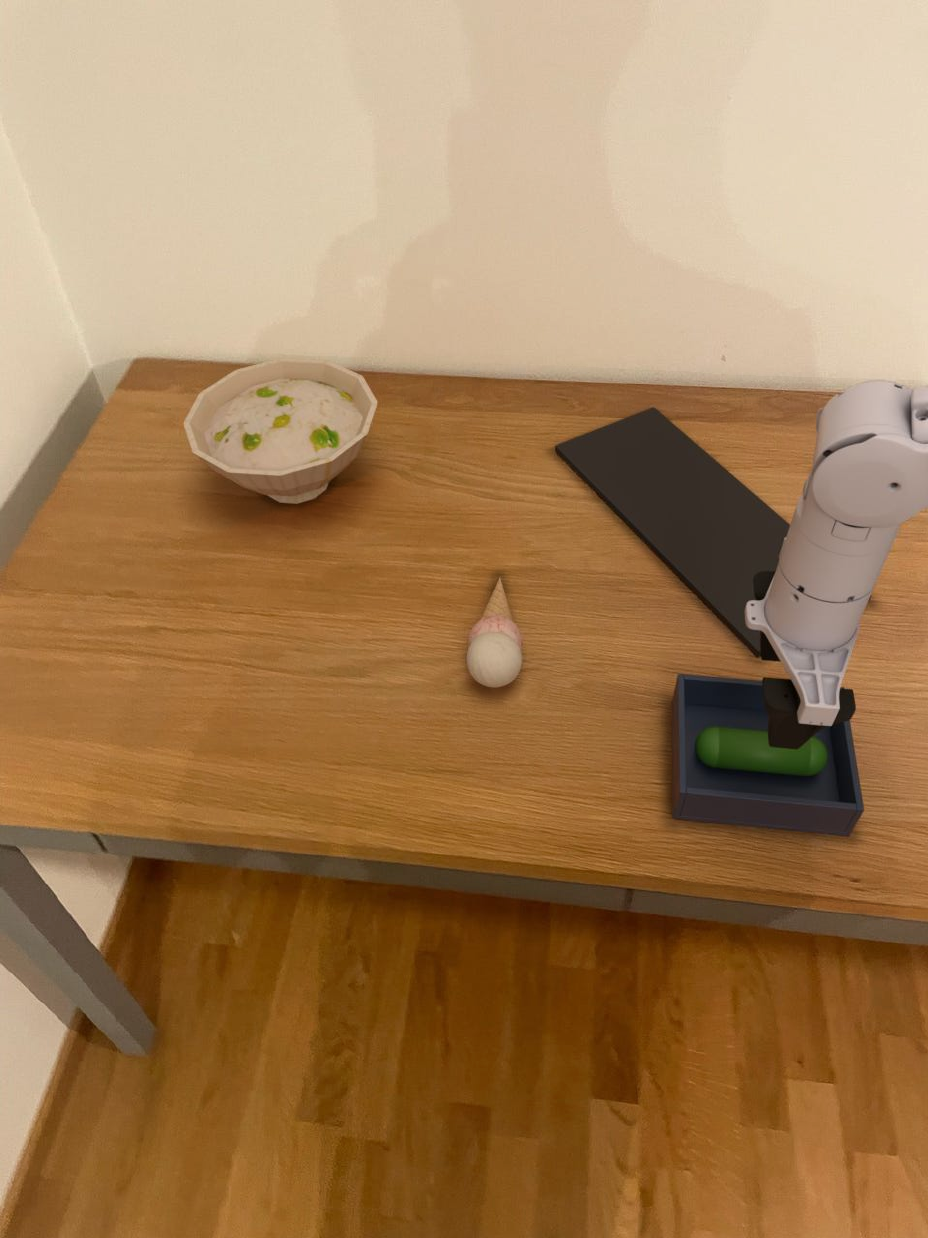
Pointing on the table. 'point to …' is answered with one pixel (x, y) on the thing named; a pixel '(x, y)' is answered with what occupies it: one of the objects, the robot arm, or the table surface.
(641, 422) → the mat
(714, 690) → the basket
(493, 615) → the ice cream cone
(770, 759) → the cucumber
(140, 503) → the table surface
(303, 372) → the bowl
